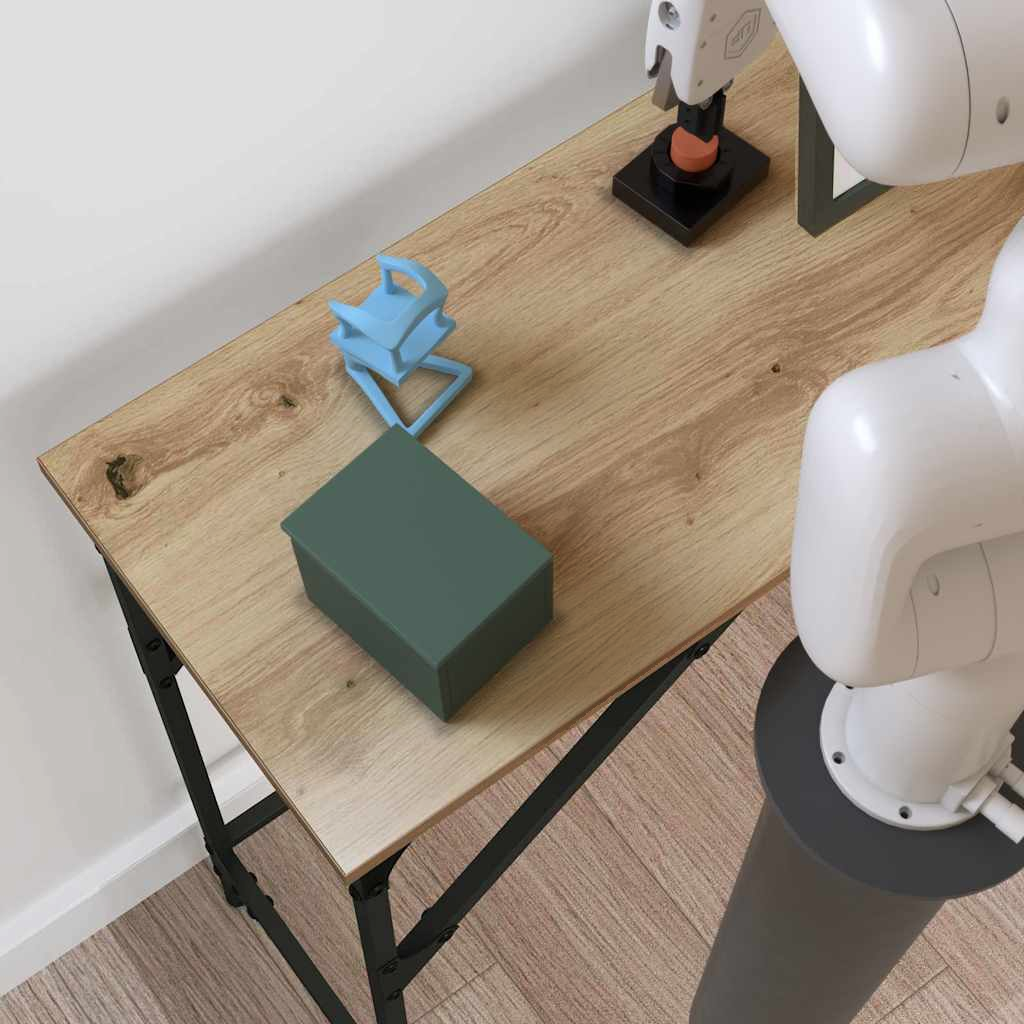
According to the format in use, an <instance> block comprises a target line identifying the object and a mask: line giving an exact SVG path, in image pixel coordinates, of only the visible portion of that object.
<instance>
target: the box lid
mask: <svg viewBox="0 0 1024 1024" xmlns="http://www.w3.org/2000/svg"><path fill="white" fill-rule="evenodd" d="M279 527H280V529H281V531H283V532H284V533H285V534H286V535H287V536H288V537H289V538H290V539H291V538H292V539H293V540H294V541H295V542H296V543H297V544H298V545H299V546H301V547H302V548H303V549H304V550H305V551H306V552H307V553H308V554H309V555H310V556H312V557H313V558H314V559H315V560H316V561H317V562H318V563H319V564H320V565H322V566H323V567H324V568H325V569H326V570H327V571H328V572H329V573H330V574H331V575H333V576H334V577H335V578H336V579H337V580H338V581H339V582H340V583H341V584H343V585H344V586H345V587H346V588H347V589H348V590H349V591H350V592H351V593H352V594H354V595H355V596H356V597H357V598H358V599H359V600H360V601H361V602H362V603H364V604H365V605H366V606H367V607H368V608H369V609H370V610H371V611H372V612H373V613H375V614H376V615H377V616H378V617H379V618H380V619H381V620H382V621H383V622H385V623H386V624H387V625H388V626H389V627H390V628H391V629H392V630H393V631H394V632H396V633H397V634H398V635H399V636H400V637H401V638H402V639H403V640H404V641H405V642H407V643H408V644H409V645H410V646H411V647H412V648H413V649H414V650H415V651H417V652H418V653H419V654H420V655H421V656H422V657H423V658H424V659H425V660H426V661H428V662H429V663H430V664H431V665H432V666H433V667H434V668H435V669H437V670H438V669H439V668H440V667H441V666H442V665H443V664H444V663H445V662H446V661H447V660H448V659H450V658H451V657H452V656H453V655H454V654H455V653H456V652H457V651H458V650H459V649H460V648H461V647H462V646H463V645H464V644H465V643H466V642H467V641H469V640H470V639H471V638H472V637H473V636H474V635H475V634H476V633H477V632H478V631H479V630H480V629H481V628H482V627H483V626H484V625H485V624H486V623H487V622H489V621H490V620H491V619H492V618H493V617H494V616H495V615H496V614H497V613H498V612H499V611H500V610H501V609H502V608H503V607H504V606H505V605H506V604H508V603H509V602H510V601H511V600H512V599H513V598H514V597H515V596H516V595H517V594H518V593H519V592H520V591H521V590H522V589H523V588H524V587H525V586H526V585H528V584H529V583H530V582H531V581H532V580H533V579H534V578H535V577H536V576H537V575H538V574H539V573H540V572H541V571H542V570H543V569H544V568H545V567H546V566H548V565H549V564H550V563H551V562H552V561H553V562H554V554H553V553H552V552H551V551H550V550H548V548H546V547H545V546H544V545H543V544H541V543H540V542H539V541H538V540H537V539H536V538H534V537H533V536H532V535H530V533H528V532H527V530H525V529H524V528H522V527H521V526H520V525H519V524H518V523H516V521H514V520H513V519H512V518H511V517H510V516H508V515H507V514H506V513H505V512H504V511H502V510H501V509H500V508H499V507H498V506H496V505H495V504H494V503H493V502H492V501H491V500H490V499H488V498H487V497H486V496H485V495H484V494H483V493H481V492H480V491H479V490H478V489H476V488H475V487H474V486H473V485H471V484H470V483H469V482H468V481H467V480H466V479H464V477H462V476H461V475H460V474H458V473H457V472H456V471H455V470H454V469H453V468H451V467H450V466H449V465H448V464H447V463H445V461H443V460H442V459H441V458H440V457H439V456H437V455H436V454H435V453H434V452H432V451H431V450H430V449H429V448H428V447H426V446H425V445H424V444H423V443H422V442H421V441H420V440H418V438H417V439H416V438H415V437H413V436H412V435H411V434H410V433H409V432H407V431H406V430H405V429H404V428H403V427H401V426H400V425H399V424H398V423H395V424H394V425H393V426H392V427H389V428H388V429H387V430H386V431H385V432H383V433H382V434H381V435H379V437H378V438H376V439H375V440H374V441H373V442H372V443H370V445H368V446H367V447H366V448H364V449H363V451H362V452H360V453H359V454H358V455H357V456H355V457H354V458H353V459H352V460H351V461H350V462H349V463H347V465H345V466H344V467H343V468H341V469H340V470H339V471H338V472H337V473H336V474H335V475H334V476H332V477H331V479H329V480H328V481H326V483H324V484H323V485H322V486H321V487H320V488H319V489H318V490H316V491H315V492H314V493H313V494H312V495H311V496H309V498H307V499H306V500H304V502H302V504H300V505H299V506H298V507H297V508H295V509H294V510H293V511H292V512H291V513H290V514H288V515H287V516H286V517H285V518H284V519H283V520H282V521H281V522H280V523H279Z"/></svg>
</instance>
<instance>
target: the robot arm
mask: <svg viewBox="0 0 1024 1024" xmlns="http://www.w3.org/2000/svg"><path fill="white" fill-rule="evenodd" d="M777 31H778V32H779V33H780V36H781V38H782V40H783V42H784V44H785V46H786V49H787V50H788V52H789V54H790V56H791V58H792V60H793V63H794V65H795V66H796V69H797V71H798V73H799V75H800V77H801V79H802V82H803V83H804V85H805V87H806V90H807V92H808V94H809V96H810V99H811V101H812V103H813V106H814V107H815V110H816V112H817V114H818V116H819V118H820V120H821V122H822V125H823V126H824V129H825V131H826V133H827V135H828V137H829V139H830V141H831V142H832V144H833V146H834V147H835V148H836V150H837V151H838V153H839V154H840V156H841V157H842V158H843V160H844V161H845V162H846V163H847V164H848V165H849V167H851V169H853V170H854V171H855V172H856V173H857V174H858V175H859V176H862V177H863V178H864V179H866V180H868V181H871V182H874V183H876V184H879V185H883V186H884V185H885V186H892V187H911V186H912V187H913V186H914V187H915V186H921V185H927V184H933V183H939V182H943V181H945V180H949V179H954V178H958V177H962V176H966V175H972V174H975V173H980V172H984V171H989V170H992V169H993V170H994V169H997V168H1001V167H1006V166H1010V165H1015V164H1019V163H1024V0H651V4H650V9H649V15H648V21H647V30H646V38H645V50H644V51H645V52H644V67H645V74H646V77H647V79H649V80H653V79H656V81H655V85H654V89H653V93H652V97H651V101H650V102H651V104H652V105H654V106H655V107H657V108H658V109H660V110H661V111H663V112H664V113H666V112H669V111H670V110H672V109H675V107H677V115H676V123H678V125H679V126H681V127H682V128H683V129H684V130H685V131H686V132H688V133H689V134H692V135H694V136H696V137H697V138H699V139H700V140H702V141H703V142H705V143H709V142H710V141H711V140H712V139H713V136H714V135H718V134H719V133H720V132H721V131H722V129H723V126H724V119H725V111H726V104H727V94H725V93H727V92H729V90H730V89H731V88H732V86H733V84H734V80H735V77H737V75H738V74H740V73H742V72H743V71H744V70H745V69H746V68H747V67H748V66H749V65H750V64H751V63H752V62H754V61H755V60H756V59H758V58H759V57H760V56H761V55H762V54H763V53H764V52H765V51H767V50H768V48H769V47H770V46H771V44H772V43H773V42H774V40H775V38H776V35H777ZM1003 243H1004V244H1003V245H1002V247H1001V249H1000V251H999V253H998V255H997V257H996V259H995V261H994V263H993V266H992V269H991V272H990V276H989V280H988V286H987V290H986V295H985V296H986V297H985V303H984V306H983V309H982V312H981V316H980V318H979V320H978V322H977V325H976V326H975V328H974V329H972V330H971V331H969V332H968V333H965V334H964V335H962V336H960V337H958V338H956V339H953V340H951V341H948V342H945V343H942V344H939V345H935V346H932V347H928V348H923V349H920V350H914V351H911V352H907V353H904V354H903V353H902V354H899V355H896V356H891V357H887V358H883V359H880V360H876V361H873V362H870V363H867V364H863V365H861V366H858V367H856V368H853V369H851V370H849V371H847V372H845V373H843V374H842V375H840V376H838V377H837V378H836V379H835V380H834V381H832V382H831V383H830V384H829V385H827V386H826V388H825V389H824V390H823V391H822V392H821V394H820V395H819V396H818V398H817V399H816V400H815V402H814V404H813V406H812V408H811V410H810V412H809V415H808V419H807V423H806V427H805V433H804V438H803V444H802V452H801V462H800V470H799V479H798V487H797V488H798V490H797V498H796V505H795V515H794V523H793V524H794V526H793V532H792V533H793V534H792V542H791V551H790V552H791V553H790V565H789V586H790V589H789V590H790V591H789V592H790V600H791V608H792V614H793V619H794V623H795V627H796V630H797V631H796V632H797V635H799V637H800V639H801V642H802V644H803V646H804V648H805V650H806V652H807V654H808V655H809V657H810V658H811V660H812V661H813V662H814V664H815V665H816V666H817V667H818V668H819V669H820V670H821V671H822V672H823V673H824V674H826V675H827V676H828V677H830V678H831V679H833V680H835V681H837V682H836V684H835V685H834V686H833V688H832V690H831V692H830V694H829V696H828V698H827V700H826V702H825V705H824V708H823V711H822V715H821V721H820V728H819V730H820V746H821V750H822V754H823V758H824V762H825V764H826V766H827V768H828V771H829V773H830V775H831V777H832V779H833V780H834V782H835V783H836V784H837V786H838V787H839V789H840V790H841V791H842V793H843V794H844V795H845V796H846V797H847V798H848V799H849V800H850V801H851V802H852V803H853V804H854V805H855V806H857V807H858V808H860V809H861V810H863V811H864V812H865V813H867V814H868V815H870V816H871V817H873V818H876V819H878V820H880V821H882V822H884V823H886V824H888V825H892V826H896V827H900V828H903V829H908V830H920V831H929V830H940V829H945V828H949V827H952V826H955V825H959V824H961V823H963V822H965V821H967V820H968V819H970V818H972V817H974V816H976V815H977V814H978V813H979V812H980V813H981V814H983V815H984V816H985V817H986V818H988V819H989V820H990V821H991V822H993V823H994V824H995V826H996V827H997V828H998V829H999V830H1001V831H1002V832H1003V833H1004V834H1006V835H1007V836H1008V837H1009V838H1010V839H1012V840H1013V841H1014V842H1015V843H1017V844H1018V843H1019V841H1020V840H1021V839H1022V838H1023V837H1024V811H1023V810H1022V809H1021V808H1019V807H1018V806H1017V805H1016V804H1012V803H1011V802H1010V801H1008V800H1007V799H1006V798H1005V797H1003V796H1002V795H1001V794H999V793H998V791H999V789H1000V787H1001V786H1002V784H1003V782H1005V783H1007V784H1008V785H1009V786H1010V787H1012V790H1014V791H1015V792H1016V793H1018V794H1019V795H1020V796H1021V797H1023V798H1024V773H1023V772H1022V771H1021V770H1020V769H1018V768H1017V767H1016V766H1014V765H1013V764H1012V763H1011V760H1012V758H1011V744H1012V742H1013V741H1014V739H1015V737H1014V736H1013V735H1012V734H1011V733H1010V729H1011V728H1012V726H1013V725H1014V723H1015V722H1016V720H1017V719H1018V717H1019V716H1020V714H1021V713H1022V711H1023V710H1024V214H1023V215H1022V216H1021V218H1020V219H1019V220H1018V222H1017V223H1016V224H1015V226H1014V227H1013V229H1012V231H1011V232H1010V234H1009V235H1008V237H1007V238H1006V239H1005V242H1003ZM846 686H851V687H852V689H848V688H846ZM835 759H838V760H840V762H841V764H837V763H835V762H834V760H835ZM900 814H906V816H907V819H904V818H902V817H901V816H900Z"/></svg>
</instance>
